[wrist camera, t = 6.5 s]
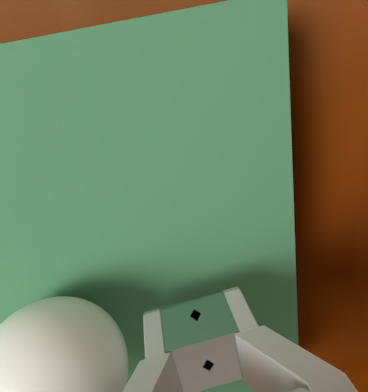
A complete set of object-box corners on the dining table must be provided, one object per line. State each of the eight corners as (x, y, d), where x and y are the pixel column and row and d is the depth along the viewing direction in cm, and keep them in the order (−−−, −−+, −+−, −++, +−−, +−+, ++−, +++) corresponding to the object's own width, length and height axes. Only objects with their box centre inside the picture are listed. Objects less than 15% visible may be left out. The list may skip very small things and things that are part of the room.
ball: (120, 340, 6) (-102, 467, 5) (165, 434, 8) (10, 545, 7) (85, 249, 10) (-54, 312, 8) (123, 331, 11) (13, 393, 10)
